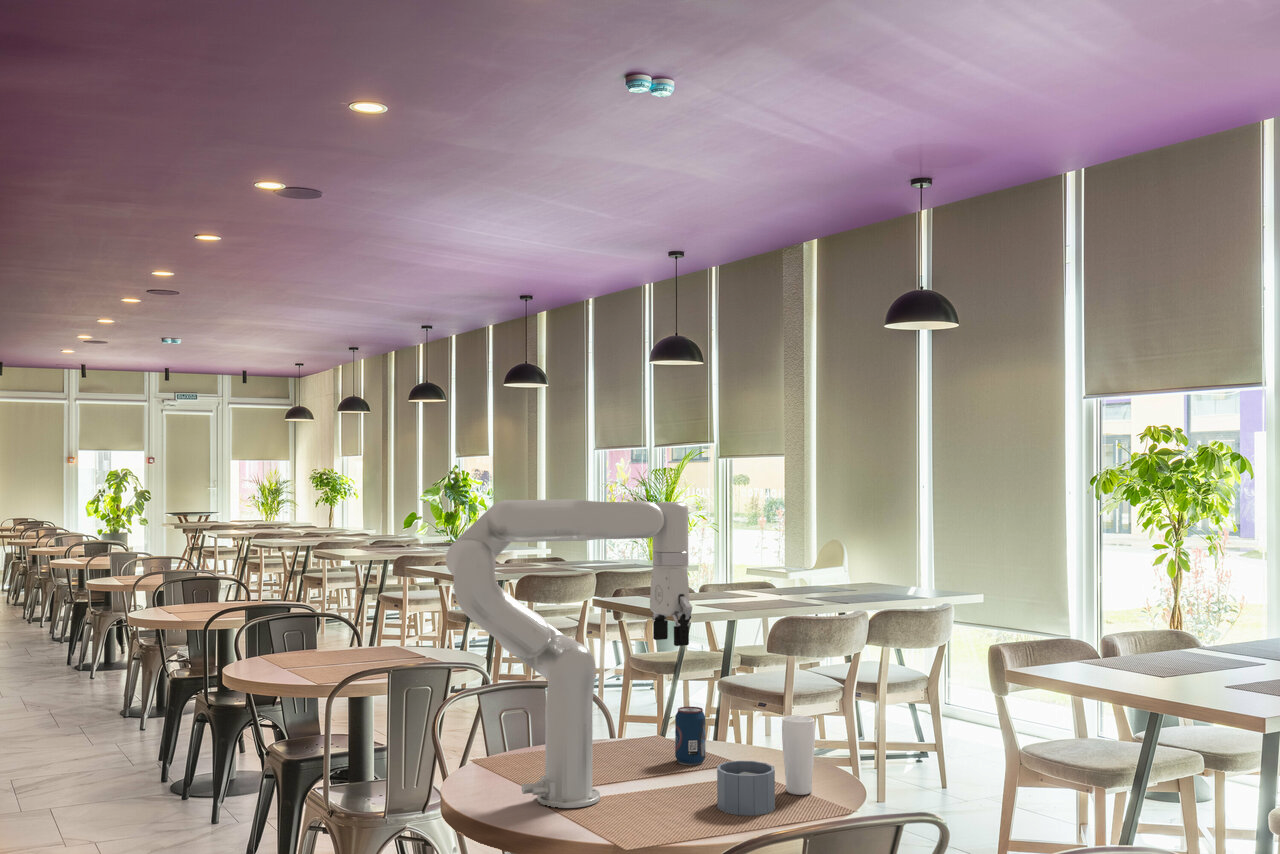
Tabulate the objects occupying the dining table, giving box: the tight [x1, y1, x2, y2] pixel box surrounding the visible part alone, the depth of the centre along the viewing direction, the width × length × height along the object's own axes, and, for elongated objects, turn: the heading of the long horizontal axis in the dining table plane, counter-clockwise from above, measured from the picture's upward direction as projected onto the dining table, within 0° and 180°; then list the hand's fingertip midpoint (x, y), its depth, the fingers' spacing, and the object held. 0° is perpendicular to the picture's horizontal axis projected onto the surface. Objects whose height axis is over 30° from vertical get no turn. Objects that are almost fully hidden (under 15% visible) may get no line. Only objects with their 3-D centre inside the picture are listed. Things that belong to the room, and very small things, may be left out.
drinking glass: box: [781, 714, 816, 796], centre depth 218 cm, size 7×7×15 cm
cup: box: [716, 760, 776, 817], centre depth 208 cm, size 11×11×8 cm
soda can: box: [674, 706, 707, 766], centre depth 242 cm, size 7×7×12 cm
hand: (670, 642), depth 221 cm, fingers open, 9 cm apart
